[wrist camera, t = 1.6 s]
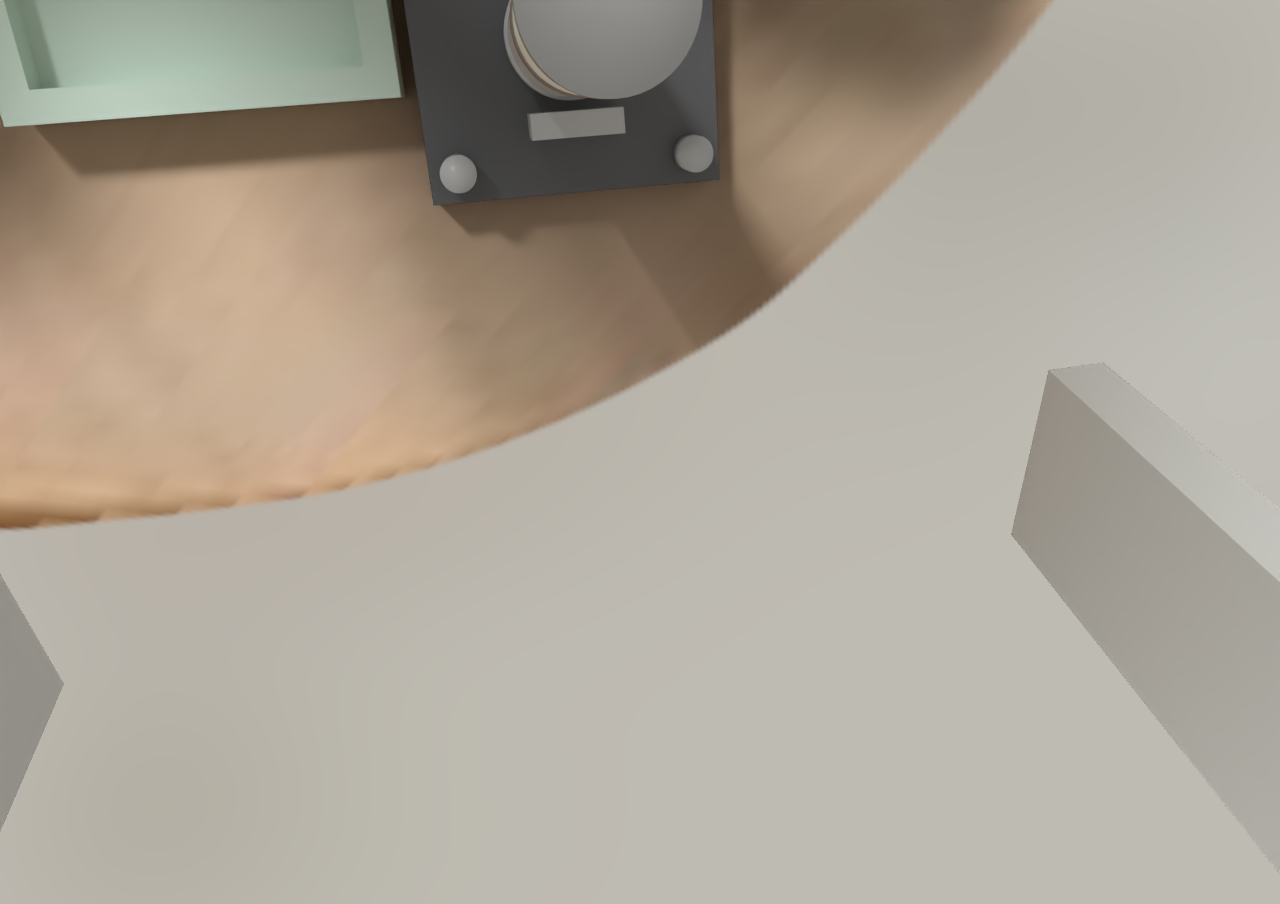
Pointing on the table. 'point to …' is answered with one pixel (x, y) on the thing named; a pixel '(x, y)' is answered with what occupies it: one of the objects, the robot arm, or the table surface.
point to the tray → (190, 56)
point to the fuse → (598, 44)
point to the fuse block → (549, 116)
